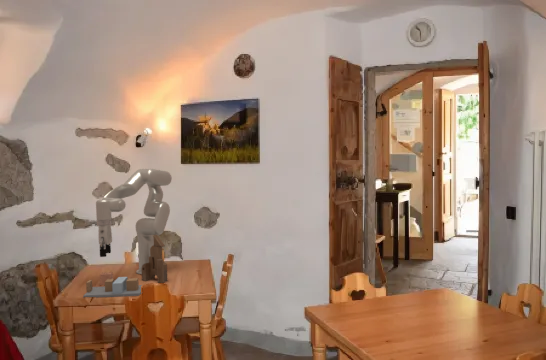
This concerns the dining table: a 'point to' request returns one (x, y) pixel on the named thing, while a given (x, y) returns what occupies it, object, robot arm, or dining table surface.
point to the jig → (107, 291)
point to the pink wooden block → (105, 277)
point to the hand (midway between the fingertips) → (105, 254)
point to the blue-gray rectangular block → (119, 285)
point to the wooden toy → (155, 263)
